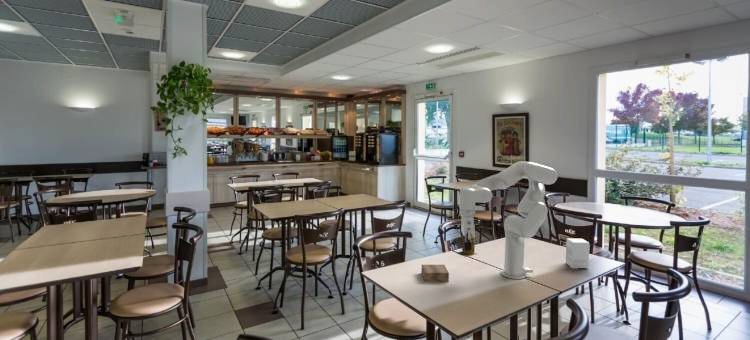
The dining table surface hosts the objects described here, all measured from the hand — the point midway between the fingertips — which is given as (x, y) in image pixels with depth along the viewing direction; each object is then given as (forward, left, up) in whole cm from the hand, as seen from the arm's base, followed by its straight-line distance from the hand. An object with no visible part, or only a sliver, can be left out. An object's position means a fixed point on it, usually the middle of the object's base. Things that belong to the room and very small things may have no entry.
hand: (466, 247), depth 188 cm
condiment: (0, 0, -3) cm, 3 cm away
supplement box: (-67, -27, -17) cm, 74 cm away
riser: (+15, -3, -17) cm, 23 cm away
